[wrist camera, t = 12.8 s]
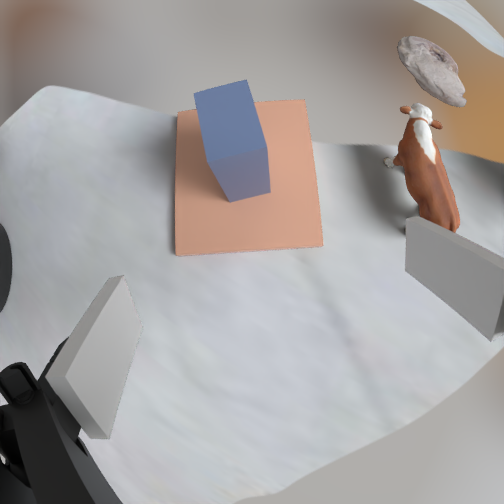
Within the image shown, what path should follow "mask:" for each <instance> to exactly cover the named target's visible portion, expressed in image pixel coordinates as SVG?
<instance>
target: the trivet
mask: <svg viewBox="0 0 504 504" xmlns="http://www.w3.org/2000/svg"><path fill="white" fill-rule="evenodd" d="M254 105H255V108H256V111H257V114H258V118H259V121H260V124H261V127H262V131H263V134H264V138H265V141H266V144H267V150H268V162H269V175H270V189H271V193H267V194H263V195H259V196H255V197H251V198H247V199H243V200H239V201H235V202H231V203H230V202H229V200H228V198H227V196H226V195H225V193H224V191H223V189H222V188H221V186H220V184H219V182H218V180H217V179H216V177H215V175H214V173H213V172H212V170H211V168H210V166H209V164H208V163H207V158H206V154H205V149H204V144H203V139H202V134H201V129H200V124H199V119H198V114H197V109H194V110H188V111H182V112H178V119H177V139H176V168H175V248H176V256H192V255H207V254H222V253H237V252H253V251H268V250H283V249H298V248H313V247H322V246H323V235H322V225H321V215H320V205H319V196H318V187H317V179H316V171H315V164H314V156H313V149H312V142H311V136H310V129H309V122H308V116H307V110H306V104H305V100H282V101H265V102H254Z"/></svg>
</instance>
